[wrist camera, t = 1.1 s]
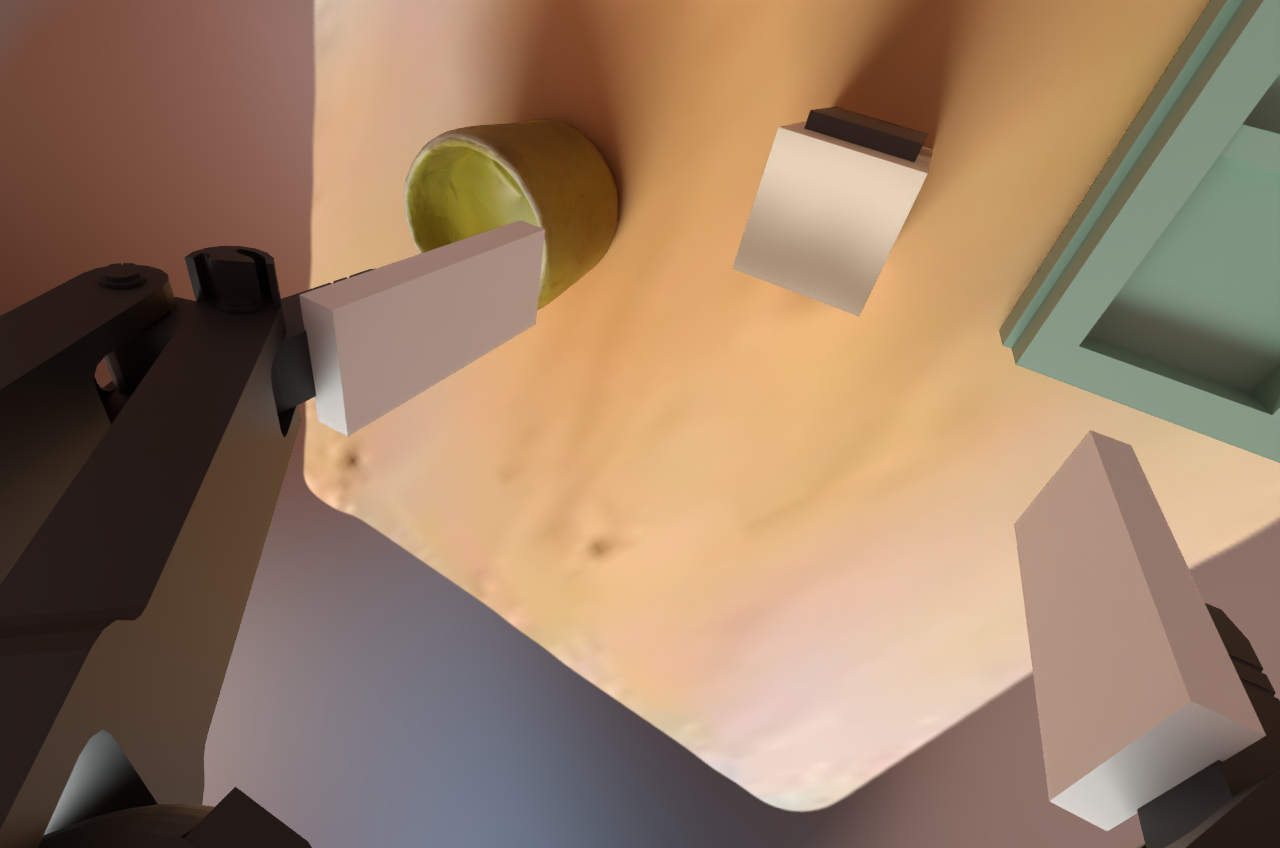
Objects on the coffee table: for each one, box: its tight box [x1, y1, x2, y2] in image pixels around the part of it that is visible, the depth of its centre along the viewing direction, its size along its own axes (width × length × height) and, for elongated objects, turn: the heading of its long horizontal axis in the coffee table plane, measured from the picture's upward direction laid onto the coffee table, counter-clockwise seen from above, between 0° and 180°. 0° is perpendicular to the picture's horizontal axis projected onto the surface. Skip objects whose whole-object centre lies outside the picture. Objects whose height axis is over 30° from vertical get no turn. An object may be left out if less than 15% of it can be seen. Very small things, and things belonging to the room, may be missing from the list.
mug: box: [404, 119, 618, 310], centre depth 33 cm, size 12×10×10 cm
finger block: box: [732, 107, 933, 316], centre depth 24 cm, size 6×5×10 cm
